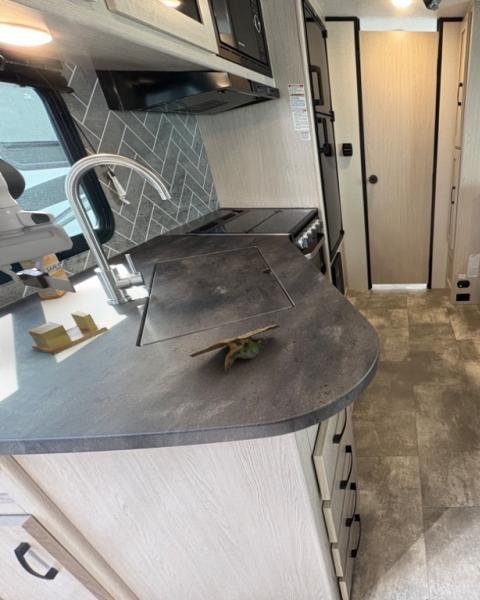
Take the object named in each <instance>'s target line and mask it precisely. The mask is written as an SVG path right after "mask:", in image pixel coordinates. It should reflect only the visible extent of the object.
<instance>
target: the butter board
mask: <svg viewBox="0 0 480 600" xmlns="http://www.w3.org/2000/svg"><path fill="white" fill-rule="evenodd" d="M95 324H96V326H97V328H96V329H93V330H91V331H90V330H86V329H83V328H79V327H78V326H77V325H74V326H73V327H71V328H68V329H66V328H65V326H64V325H63V324H59V323H56V322H51V321H49V322H46V323H44V324H43V323H42V324H41V325H37V326H36V327H33V328H30V329H28V330H27V333H28V334H29V335H30V337H31V338H32V340H33V342H34V343H32V344H30V347H31V349H33V350H35V351H39V352H43V353H46V354H49V355H52V356H55V355H57V354H58V353H61V352H63V351H65V350H67V349H69V348H71V347H74V346H77V345H78V344H80V343H82V342H85V341H86V340H89V339H91V338H93V337H96V336H98V335H100V334H102V333H104V332H106V331H108V328H107V326H105V325H102V324H101V325H100V324H97V323H95Z"/></svg>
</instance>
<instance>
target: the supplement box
mask: <svg viewBox="0 0 480 600" xmlns="http://www.w3.org/2000/svg"><path fill="white" fill-rule="evenodd" d="M43 258H44V260H45V262H44V266H43V270H44V272H47V273H48V274H49V276H50V277H55V278H60V279H66V280H70V279H69V277H68V275H67V274H66V272H65V270H64V268H63V266H62V265H61V263H60V261H59V258H58V257H57V255H56V253H53V254H49V255H45V256H43ZM35 262H36V261H32V260H31V259H29V260H25V261H21V262H18V263H19V264H20V266H21V267H22V269H23V271H24V270H27V269H30V270H31V269H34V268H35ZM34 289H35V291H36V292H37V294H38V296H39V298H40V299H41V300H50V299H57V298H61V297H62V296H64V295H65V294H66V293H67V292H68V291H63V290H58V289H53V288H46V289H41V288H36V287H34Z"/></svg>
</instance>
